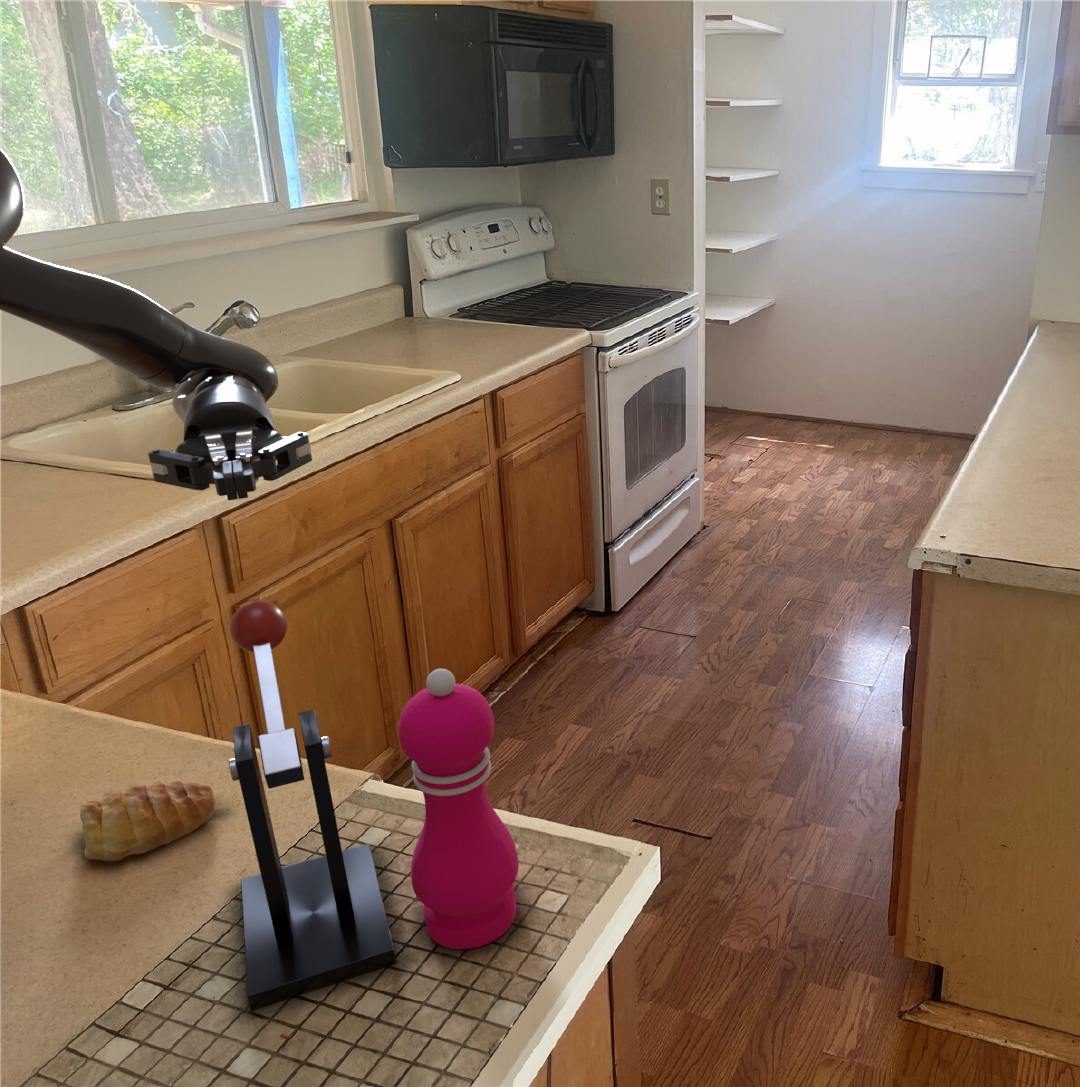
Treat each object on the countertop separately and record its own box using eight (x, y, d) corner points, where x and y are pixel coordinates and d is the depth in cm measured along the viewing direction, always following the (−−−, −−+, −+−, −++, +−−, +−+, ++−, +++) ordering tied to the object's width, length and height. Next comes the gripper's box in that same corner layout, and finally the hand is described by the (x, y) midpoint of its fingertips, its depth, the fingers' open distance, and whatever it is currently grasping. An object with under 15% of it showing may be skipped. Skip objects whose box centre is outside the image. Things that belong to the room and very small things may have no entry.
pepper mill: (405, 956, 69) (363, 700, 61) (434, 882, 75) (399, 643, 68) (512, 956, 69) (483, 700, 61) (532, 882, 75) (507, 643, 68)
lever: (230, 622, 72) (223, 596, 69) (285, 612, 74) (279, 586, 71) (258, 795, 66) (250, 774, 63) (316, 780, 67) (312, 760, 65)
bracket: (243, 891, 75) (198, 706, 68) (371, 855, 78) (339, 676, 72) (250, 1010, 65) (198, 806, 58) (396, 963, 68) (362, 765, 62)
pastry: (209, 788, 86) (200, 750, 85) (224, 831, 81) (215, 792, 80) (82, 829, 81) (69, 790, 80) (89, 877, 76) (76, 836, 75)
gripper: (139, 399, 89) (127, 452, 75) (300, 382, 94) (318, 429, 80) (158, 480, 92) (150, 546, 78) (313, 459, 97) (333, 518, 83)
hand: (236, 487), depth 79 cm, fingers closed
